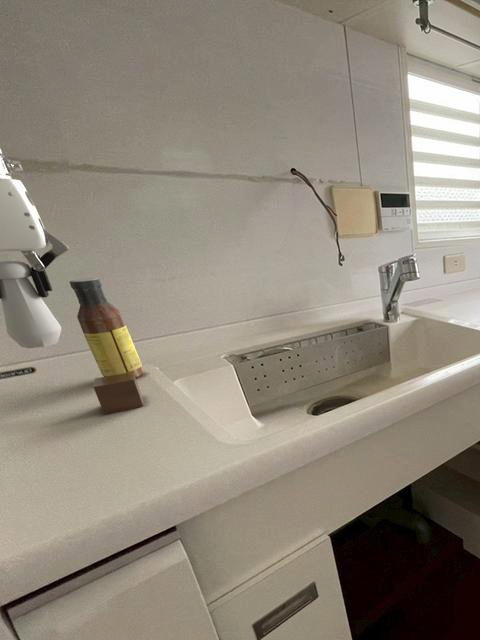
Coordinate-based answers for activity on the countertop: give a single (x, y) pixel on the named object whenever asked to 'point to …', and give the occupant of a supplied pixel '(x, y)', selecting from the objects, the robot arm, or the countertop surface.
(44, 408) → the countertop surface
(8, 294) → the salt shaker
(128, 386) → the walnut block
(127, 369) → the sauce bottle
